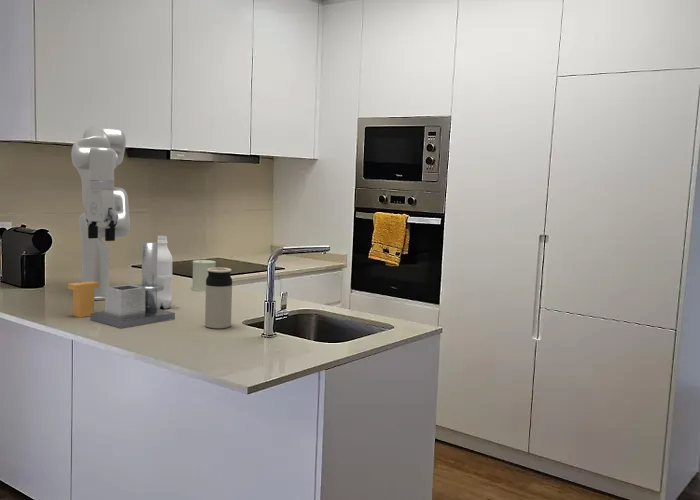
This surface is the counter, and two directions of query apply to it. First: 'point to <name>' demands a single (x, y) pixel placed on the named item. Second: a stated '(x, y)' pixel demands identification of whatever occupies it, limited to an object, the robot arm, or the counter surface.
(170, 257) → the water bottle
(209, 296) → the travel mug
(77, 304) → the orange upright block
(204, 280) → the can
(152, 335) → the counter surface
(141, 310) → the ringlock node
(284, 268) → the counter surface
